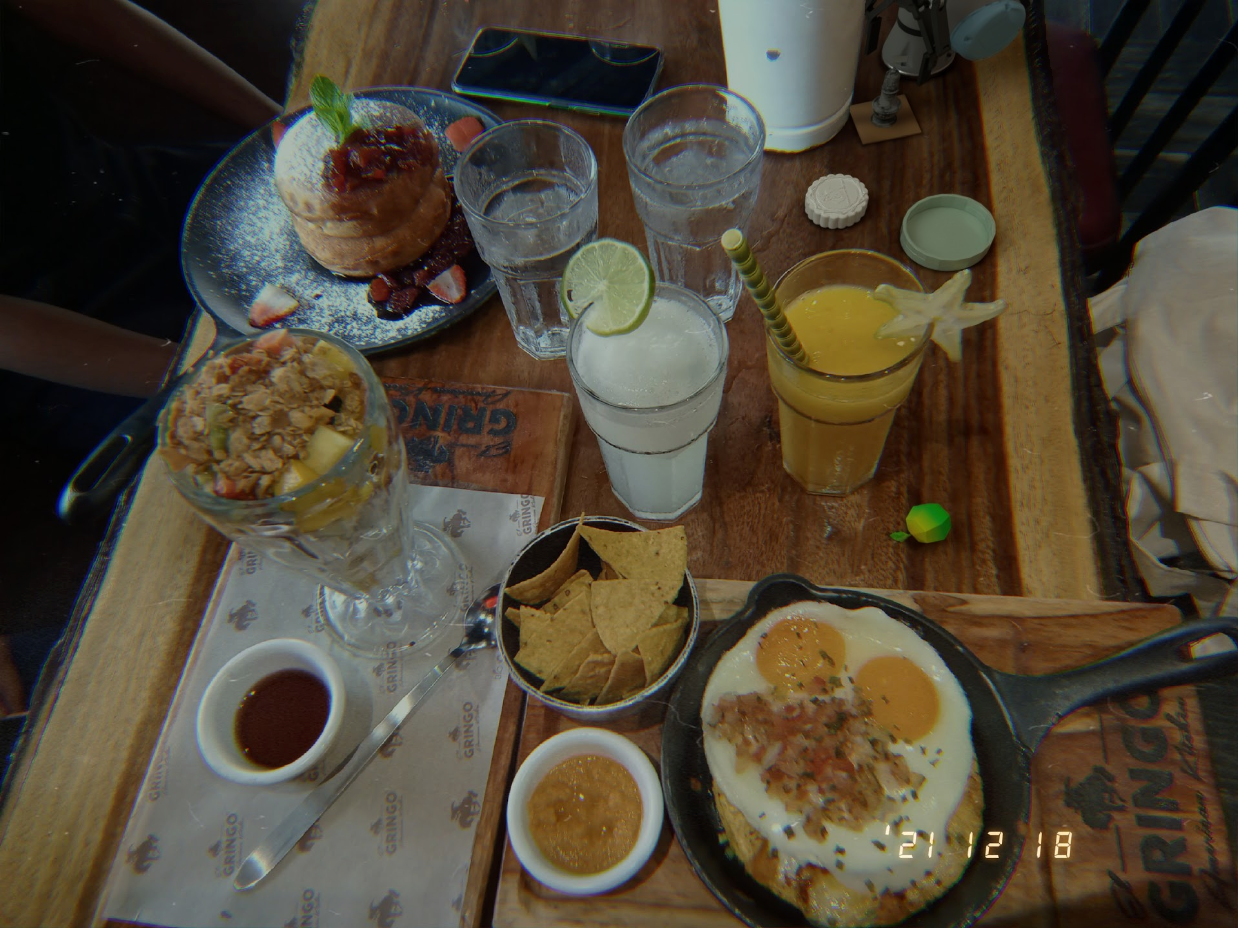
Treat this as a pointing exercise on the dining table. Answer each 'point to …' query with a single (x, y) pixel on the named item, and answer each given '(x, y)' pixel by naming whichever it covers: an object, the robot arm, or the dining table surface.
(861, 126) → the coaster
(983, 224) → the green round tray
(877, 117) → the grey chess piece
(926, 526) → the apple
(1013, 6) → the robot arm
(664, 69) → the dining table surface
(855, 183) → the mooncake
